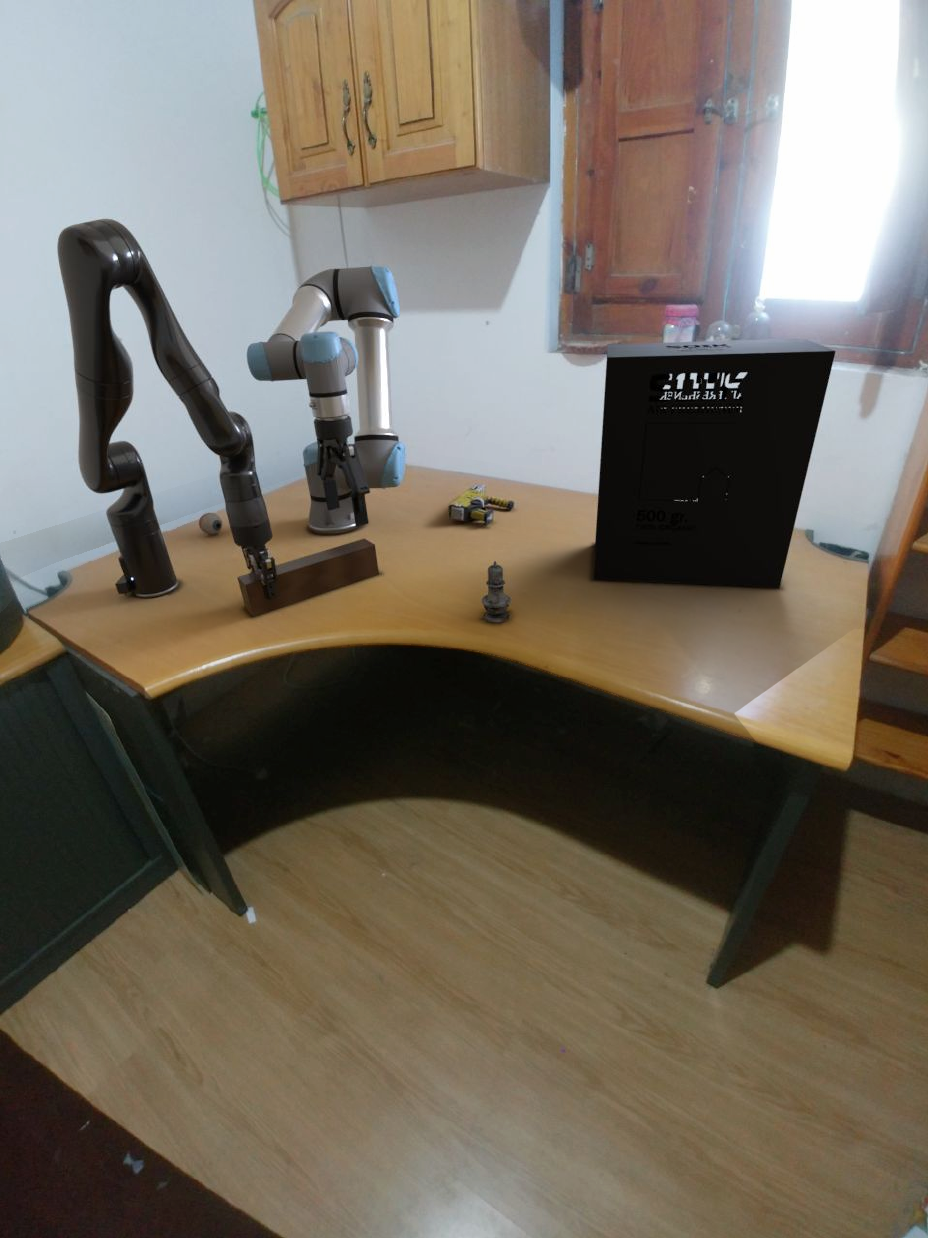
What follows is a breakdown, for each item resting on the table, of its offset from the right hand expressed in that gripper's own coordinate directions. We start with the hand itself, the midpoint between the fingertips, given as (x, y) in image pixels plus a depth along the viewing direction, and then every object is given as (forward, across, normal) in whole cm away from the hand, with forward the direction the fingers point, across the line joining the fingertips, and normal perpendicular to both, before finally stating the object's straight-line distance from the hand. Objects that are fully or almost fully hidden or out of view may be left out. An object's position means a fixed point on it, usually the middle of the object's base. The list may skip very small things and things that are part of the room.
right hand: (347, 516), depth 132 cm
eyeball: (+15, -52, -18) cm, 57 cm away
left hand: (+12, 0, -21) cm, 24 cm away
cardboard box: (+15, +45, +58) cm, 75 cm away
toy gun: (+15, -13, +48) cm, 52 cm away
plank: (+15, 0, -10) cm, 18 cm away
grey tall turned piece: (+15, +36, +12) cm, 41 cm away
